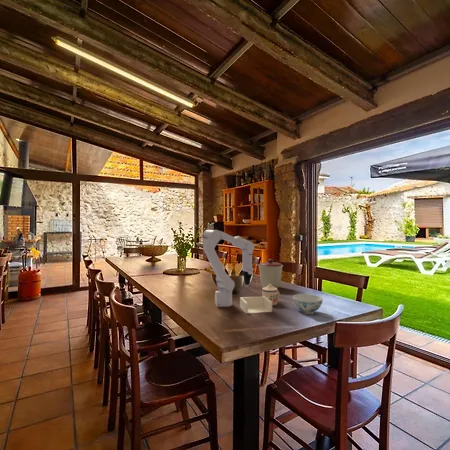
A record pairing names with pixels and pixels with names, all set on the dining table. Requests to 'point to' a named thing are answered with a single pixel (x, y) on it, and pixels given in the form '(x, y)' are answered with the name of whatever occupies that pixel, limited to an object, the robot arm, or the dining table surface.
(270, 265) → the canister
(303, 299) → the chinaware
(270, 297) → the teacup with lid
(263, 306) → the box
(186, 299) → the dining table surface
